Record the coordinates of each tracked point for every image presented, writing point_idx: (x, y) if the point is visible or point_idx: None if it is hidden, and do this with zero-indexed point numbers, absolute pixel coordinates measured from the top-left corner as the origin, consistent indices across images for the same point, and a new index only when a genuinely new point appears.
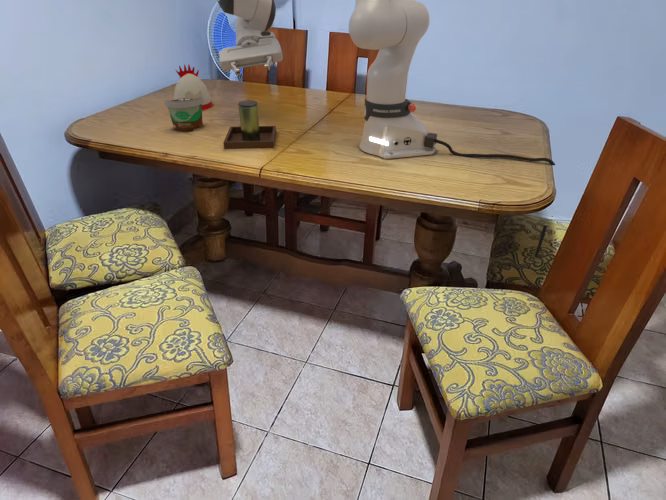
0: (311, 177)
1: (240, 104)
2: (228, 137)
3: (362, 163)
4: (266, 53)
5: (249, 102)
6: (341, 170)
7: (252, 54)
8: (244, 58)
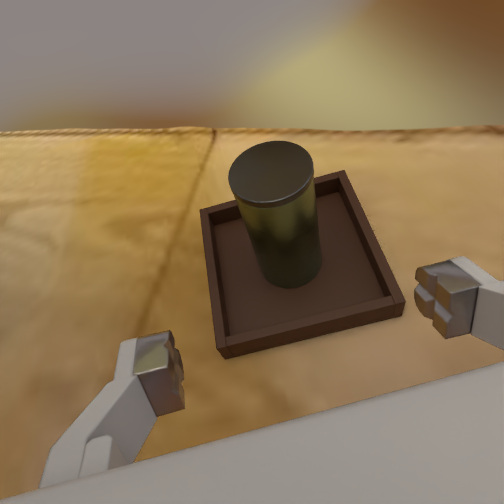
0: (115, 132)
1: (291, 144)
2: (352, 209)
3: (7, 205)
4: (84, 484)
5: (262, 173)
6: (57, 168)
7: (338, 447)
8: (450, 377)
